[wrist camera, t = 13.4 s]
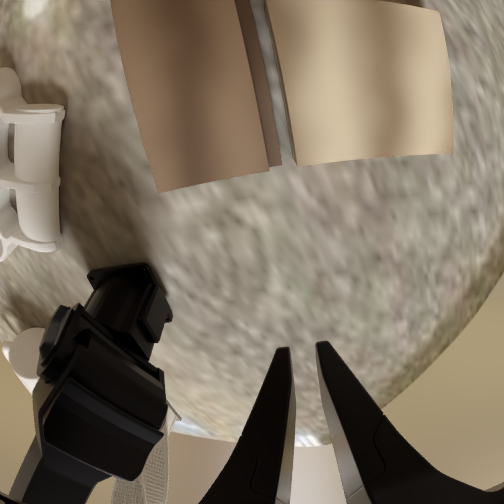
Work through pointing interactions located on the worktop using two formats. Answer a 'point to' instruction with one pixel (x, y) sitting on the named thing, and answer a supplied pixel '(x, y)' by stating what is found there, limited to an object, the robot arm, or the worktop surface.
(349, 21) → the oak plank
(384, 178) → the worktop surface
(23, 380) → the mug
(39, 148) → the white honeycomb tray
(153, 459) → the skyscraper
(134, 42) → the walnut board
